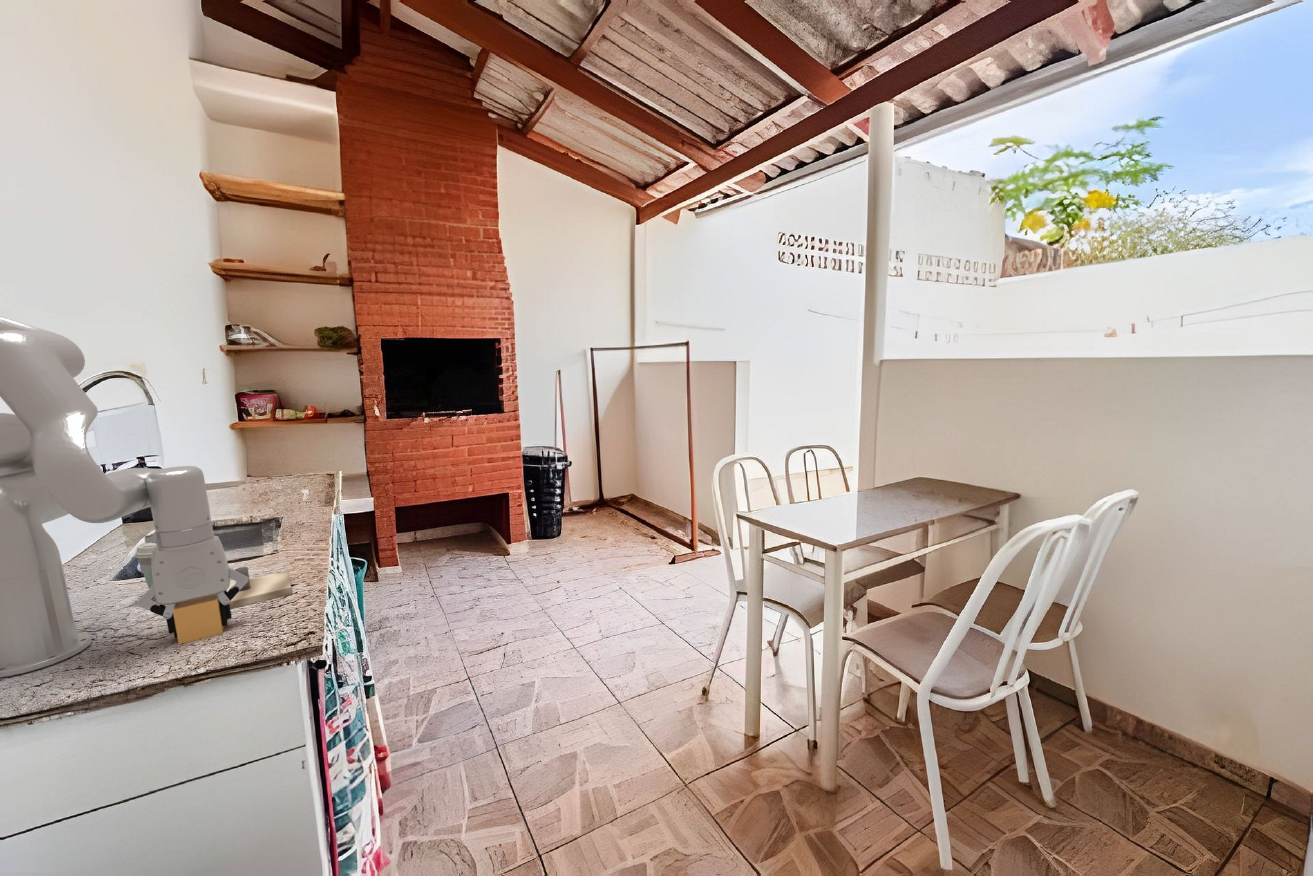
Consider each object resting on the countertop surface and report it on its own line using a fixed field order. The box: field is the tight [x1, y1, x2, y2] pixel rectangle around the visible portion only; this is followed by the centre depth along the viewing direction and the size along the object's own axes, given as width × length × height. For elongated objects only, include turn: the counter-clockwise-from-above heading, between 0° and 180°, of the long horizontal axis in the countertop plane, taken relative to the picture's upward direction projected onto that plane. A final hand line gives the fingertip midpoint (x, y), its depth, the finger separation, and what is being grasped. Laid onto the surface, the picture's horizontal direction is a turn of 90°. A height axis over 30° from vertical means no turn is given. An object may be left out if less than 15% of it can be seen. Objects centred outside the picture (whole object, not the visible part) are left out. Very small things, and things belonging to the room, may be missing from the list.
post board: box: [227, 566, 293, 610], centre depth 111 cm, size 16×12×6 cm
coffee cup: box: [134, 541, 157, 601], centre depth 113 cm, size 8×8×12 cm
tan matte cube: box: [173, 594, 225, 645], centre depth 96 cm, size 6×6×6 cm
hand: (202, 628), depth 96 cm, fingers closed on tan matte cube, 5 cm apart
